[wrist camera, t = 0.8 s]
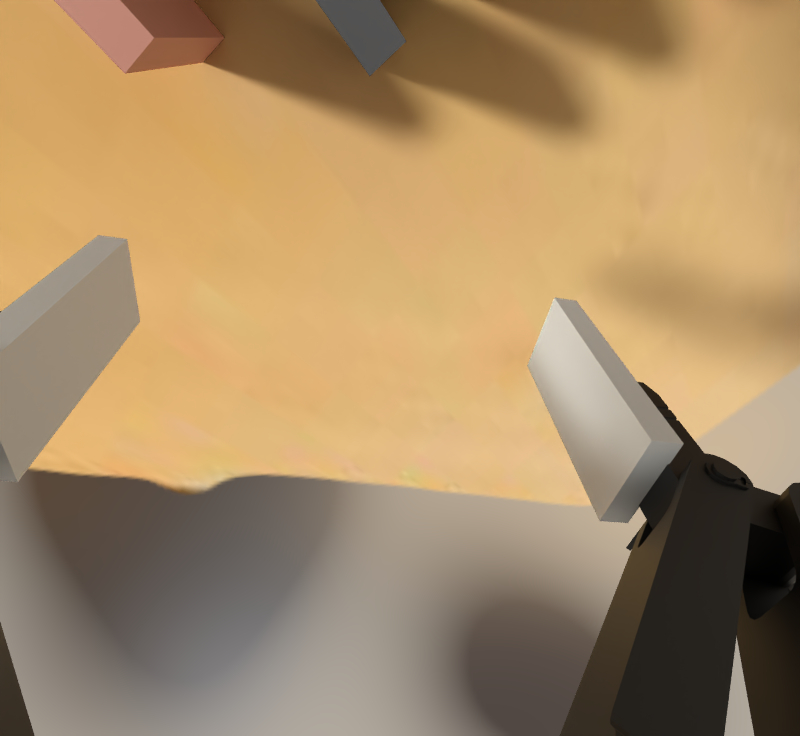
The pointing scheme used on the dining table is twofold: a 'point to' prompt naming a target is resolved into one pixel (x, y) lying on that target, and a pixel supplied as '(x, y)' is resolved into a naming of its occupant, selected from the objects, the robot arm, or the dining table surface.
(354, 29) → the domino
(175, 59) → the domino
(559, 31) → the dining table surface
